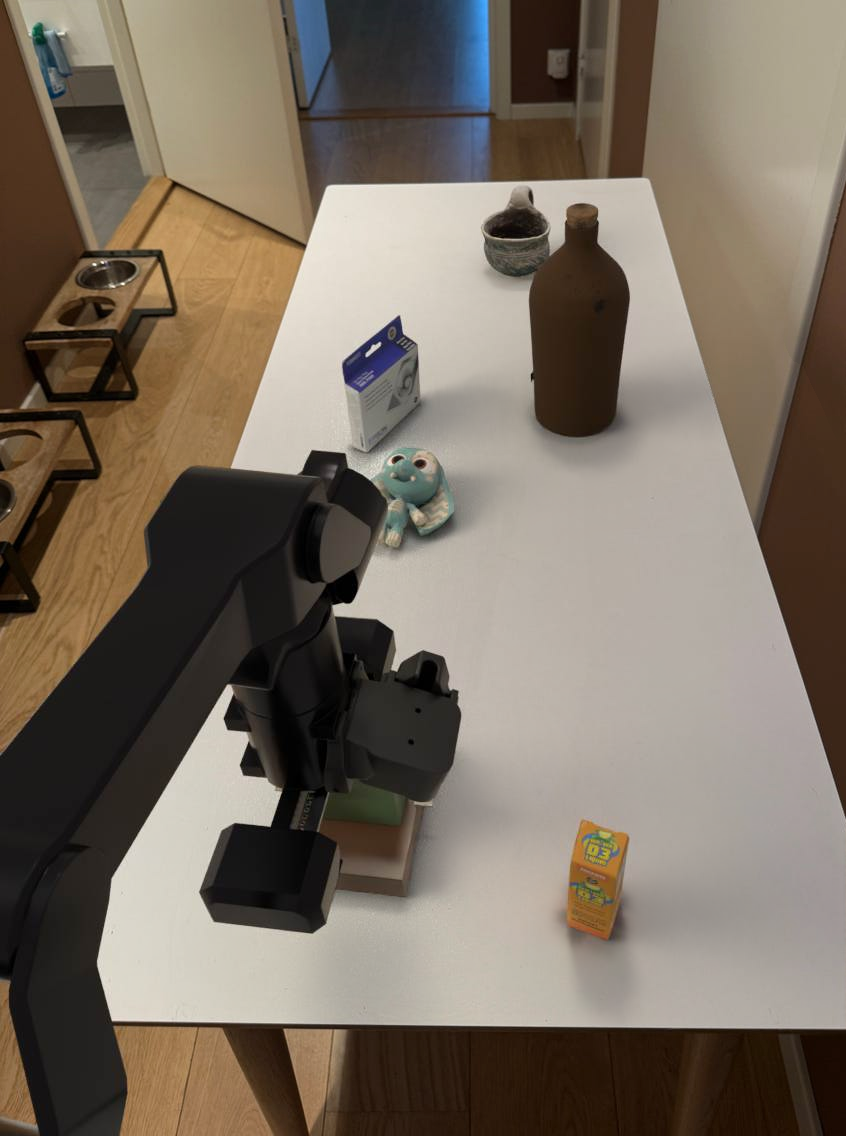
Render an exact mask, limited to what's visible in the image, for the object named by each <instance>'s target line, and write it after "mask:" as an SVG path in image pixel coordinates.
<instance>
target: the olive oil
mask: <svg viewBox="0 0 846 1136" xmlns="http://www.w3.org/2000/svg"><path fill="white" fill-rule="evenodd" d="M565 216H566V219H565V221H564V243H563V244H562V245H561V246H559V248H557V249H556V250H555V251H554V252H553V253H552V254H551V255H549V258H547V259H546V260H545V261H544V262H543V263H542V264H541V265H540V267H539V268H538V270H537V271H536V272H534V275H533V278H532V281H531V284H530V288H529V293H528V310H529V326H530V340H531V341H530V342H531V343H530V344H531V358H532V372H531V373H530V382H531V384H532V382H533V398H534V399H533V401H534V404H533V405H534V415H535V418H536V420H537V421H538V423H539V424H540V425H541V426H542V427H543V428H544V429H546V430H548V431H550V432H552V433H555V434H557V435H560V436H565V437H587V436H591V435H595V434H598V433H600V432H602V431H604V430H605V429H607V428H609V426H610V425H612V423H613V422H614V420H615V418H616V416H617V415H616V414H617V406H618V396H619V389H620V388H619V387H620V377H621V371H622V364H623V363H622V362H623V354H624V347H625V339H626V333H627V324H628V318H629V310H630V302H631V292H630V285H629V282H628V278H627V275H626V273H625V271H624V270H623V268H622V266H621V265H620V263H618V262H617V260H616V259H615V258H613V257H612V255H610V254H609V253H608V252H607V251H606V250H605V249H604V248H603V247H602V246H601V245H600V244H599V242H598V240H599V228H600V222H599V220H598V218H599V208H598V207H597V206H596V205H594V204H591V203H586V202H580V203H579V202H578V203H574V204H570V205H569V206H567V208H566V212H565Z"/></svg>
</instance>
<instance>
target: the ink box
mask: <svg viewBox="0 0 846 1136" xmlns="http://www.w3.org/2000/svg"><path fill="white" fill-rule="evenodd" d="M379 343H380V345H379V346H378V347H377V348H376V349H375V350H373V352H371V353H369V355H368V356H366V355H367V353H368V352H370V350H371V349H372V347H373V346H376V345H378V344H379ZM419 360H420V359H419V344H418V343H417V342H416V341H414V340H413V339H411V338H410V337H409V335H407V334H404V331H403V324H402V318H401V315H400V314H398V315H397V316H396V317H394V318H393V319H392V320H391V321H390V322H388V324H386V325H385V326H384V327H382V328H381V329H380V330H379V331H378V332H375V334H373V335H372V336H371V337H370V338H369V339H367V340H366V341H365V342H364V343H363V344H361V345H360V346H359V347H357V348H356V349H355V350H354V351H353V352H351V354H349V355H348V356H347V357H346V358H344V359H343V360H342V361H341V371H342V376H343V382H344V383H343V384H344V390H345V395H346V396H345V398H346V407H347V412H348V422H349V428H350V436H351V445H352V448H353V449H354V450H356V451H360V452H363V453H365V454H366V453H369V452H370V451H371V450H372V449H373V448H374V447H375V446H376V445H377V444H378V443H379V442H380V441H381V440H383V438H384V437H386V435H387V434H388V433H389V432H390V431H392V429H394V428H395V427H396V426H397V425H398V424H399V423H400V422H401V421H402V420H403V419H404V418H405V417H407V415H408V414H410V413H411V412H412V411H413V410H414V409H415V408H416V407H417V406H418V405H419V404H420V403H421V384H420V382H421V381H420V361H419Z"/></svg>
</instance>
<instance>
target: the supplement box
mask: <svg viewBox="0 0 846 1136" xmlns="http://www.w3.org/2000/svg"><path fill="white" fill-rule="evenodd" d="M575 837H576V838H575V842H574V845H573V849H572V854H571V858H570V862H569V863H570V864H569V876H568V891H567V905H566V925H567V926H568V927H570V928H573V929H576V930H579V931H581V932H583V933H587V934H589V935H592V936H595V937H598V938H601V939H602V940H606V941H609V938H610V936H611V934H612V930H613V927H614V924H615V921H616V918H617V915H618V911H619V908H620V905H621V900H622V893H623V884H624V876H625V870H626V862H627V855H628V849H629V844H630V836H629V834H628V833H626V832H623V831H616V830H615V831H614V830H612V829H610V828H606V827H603V826H600V825H598V824H595V823H594V822H593V821H590V820H588V819H584V818H582V819H580V822H579V827H578V830H577V834H576V836H575Z"/></svg>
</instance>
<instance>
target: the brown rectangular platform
mask: <svg viewBox="0 0 846 1136" xmlns="http://www.w3.org/2000/svg"><path fill="white" fill-rule="evenodd" d="M274 787H275V788H274V792H280V793H282V789H280V788H278V787H276V786H274ZM433 806H434V802H433V801H428V802H416V801H412V800H410V799H409V798H407V797H406V800H405V805H404V810H403V815H402V820H401V825H400V826H396V825H386V824H376V823H366V822H356V821H346V820H336V819H326V818H322V821H321V825H320V828H319V833H321V834H323V835H325V836H326V837H328V838H330V839H332V840H333V841H335V842H337V843H338V846H339V850H340V859H342V860H343V862H342V866H341V870H340V874H339V878H338V882H337V885H336V889H335V890H343V891H352V892H360V893H369V894H377V895H385V896H394V897H403V898H406V897H407V893H408V888H409V885H410V884H409V883H410V878H411V873H412V868H413V862H414V858H415V854H416V849H417V843H418V837H419V833H420V828H421V824H422V823H421V822H422V818H423V814H424V813H423V812H424V808H433ZM302 819H305V818H304V817H303V816H302ZM300 826H303V825H302V824H301V823H300Z"/></svg>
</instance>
